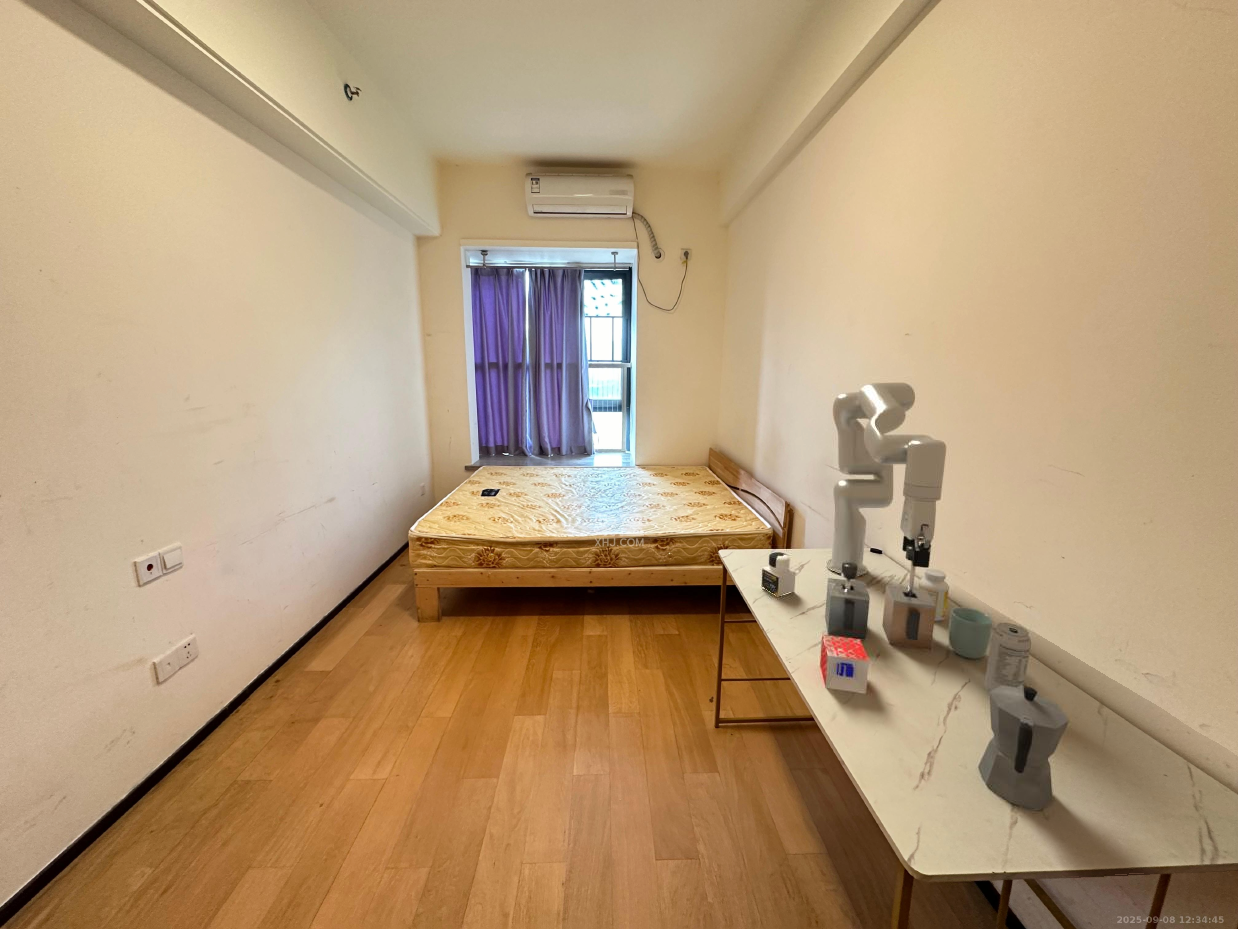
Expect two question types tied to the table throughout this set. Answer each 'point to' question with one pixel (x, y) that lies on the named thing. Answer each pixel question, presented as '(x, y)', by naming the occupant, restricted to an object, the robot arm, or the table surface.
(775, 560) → the medicine bottle
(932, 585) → the supplement bottle
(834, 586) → the grey joystick box
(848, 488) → the robot arm
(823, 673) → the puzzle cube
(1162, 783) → the table surface
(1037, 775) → the coffeepot
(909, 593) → the plunger
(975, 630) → the cup
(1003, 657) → the energy drink can
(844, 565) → the plunger
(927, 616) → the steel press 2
